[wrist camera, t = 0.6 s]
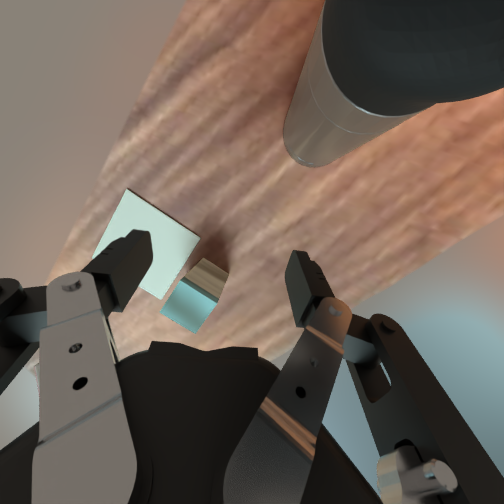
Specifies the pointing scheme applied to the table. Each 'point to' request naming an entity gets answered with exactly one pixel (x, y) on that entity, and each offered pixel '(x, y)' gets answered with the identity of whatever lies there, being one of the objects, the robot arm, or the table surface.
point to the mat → (162, 236)
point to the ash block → (195, 295)
